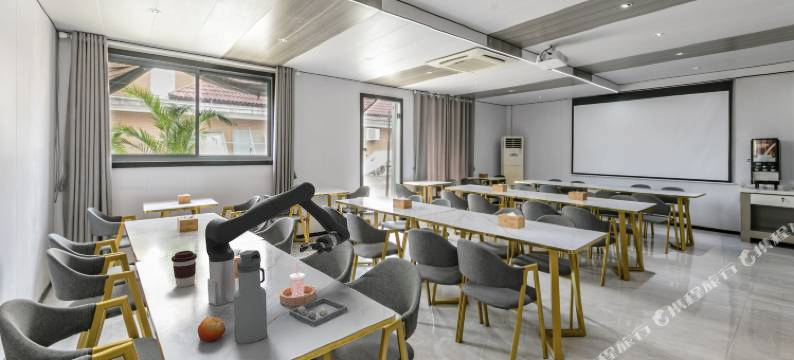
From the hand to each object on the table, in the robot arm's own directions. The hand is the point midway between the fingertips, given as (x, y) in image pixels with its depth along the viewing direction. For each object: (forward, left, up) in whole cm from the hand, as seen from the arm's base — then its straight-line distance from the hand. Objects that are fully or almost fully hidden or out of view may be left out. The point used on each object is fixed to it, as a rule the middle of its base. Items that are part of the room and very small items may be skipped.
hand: (309, 250), depth 158 cm
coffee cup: (-32, +50, -17) cm, 61 cm away
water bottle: (-38, -18, -17) cm, 45 cm away
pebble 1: (-18, -18, -17) cm, 30 cm away
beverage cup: (-9, -4, -17) cm, 19 cm away
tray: (-13, -21, -17) cm, 30 cm away
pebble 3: (-14, -25, -17) cm, 33 cm away
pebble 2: (-18, -24, -17) cm, 34 cm away
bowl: (-10, -4, -17) cm, 20 cm away
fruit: (-47, -10, -17) cm, 51 cm away
